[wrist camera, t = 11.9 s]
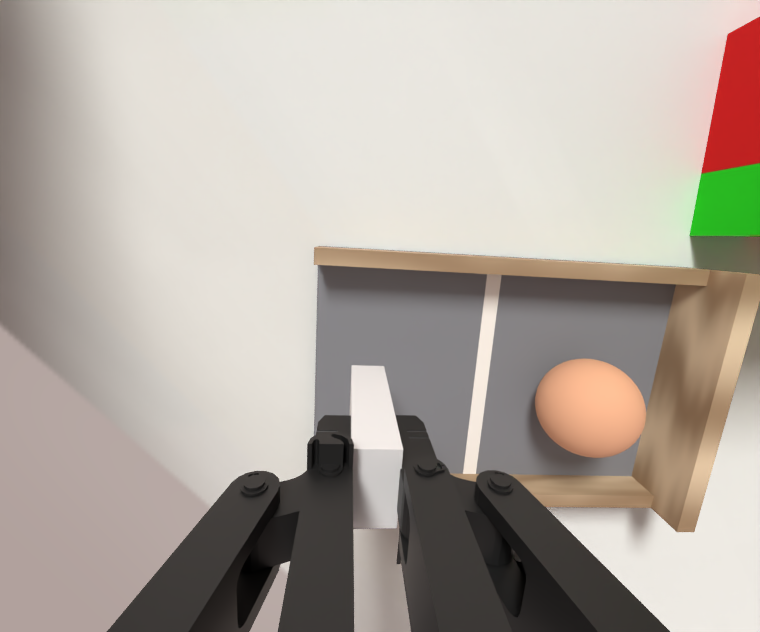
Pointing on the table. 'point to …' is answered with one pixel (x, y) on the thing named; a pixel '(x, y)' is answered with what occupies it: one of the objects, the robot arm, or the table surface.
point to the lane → (483, 355)
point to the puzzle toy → (733, 144)
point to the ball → (590, 408)
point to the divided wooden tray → (670, 386)
